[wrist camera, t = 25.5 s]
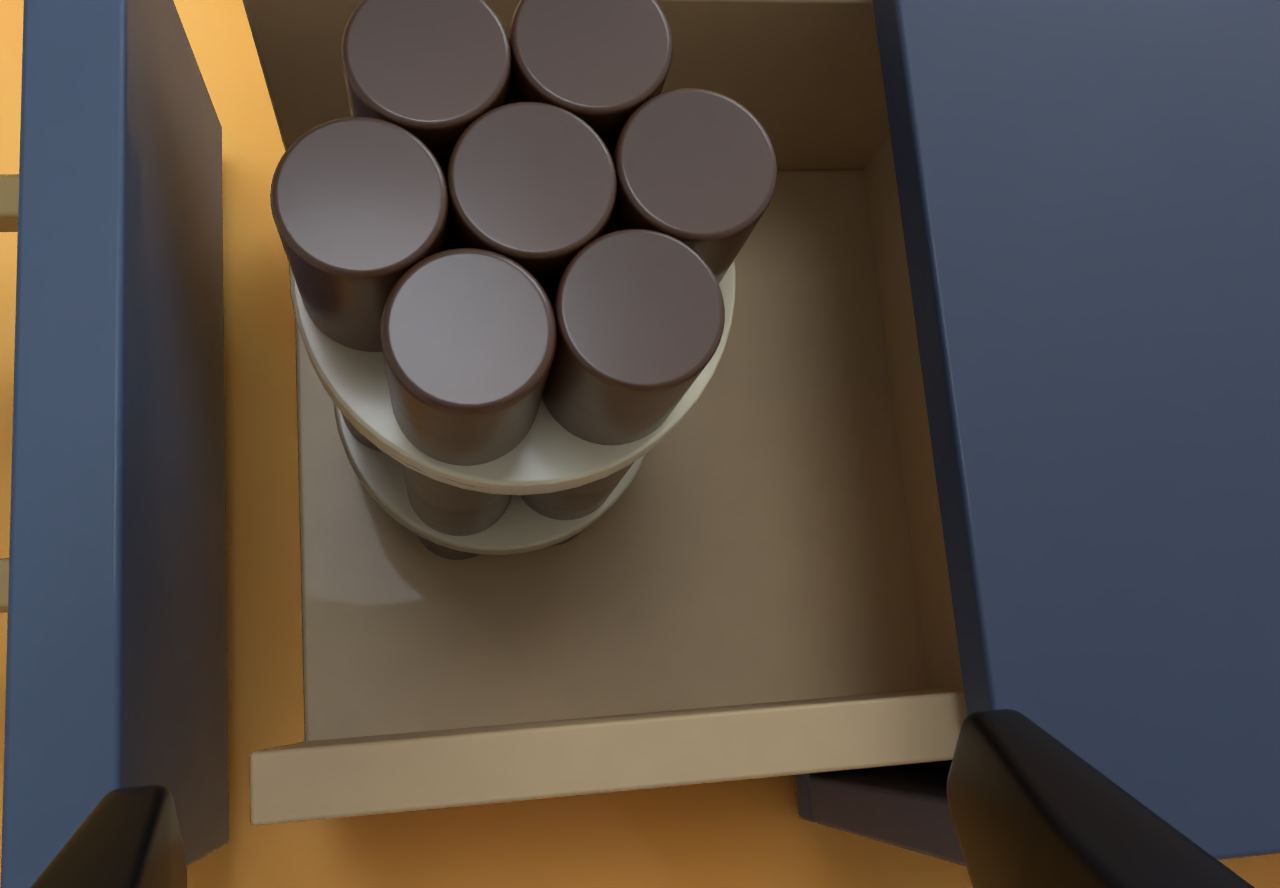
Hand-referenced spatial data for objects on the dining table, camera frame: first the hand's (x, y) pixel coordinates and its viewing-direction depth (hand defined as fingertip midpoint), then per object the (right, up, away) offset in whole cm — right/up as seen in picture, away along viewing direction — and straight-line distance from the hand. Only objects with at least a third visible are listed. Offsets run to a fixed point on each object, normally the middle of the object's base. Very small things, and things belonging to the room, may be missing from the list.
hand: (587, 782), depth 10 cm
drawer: (-4, +3, +11) cm, 12 cm away
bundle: (-2, +3, +11) cm, 11 cm away
